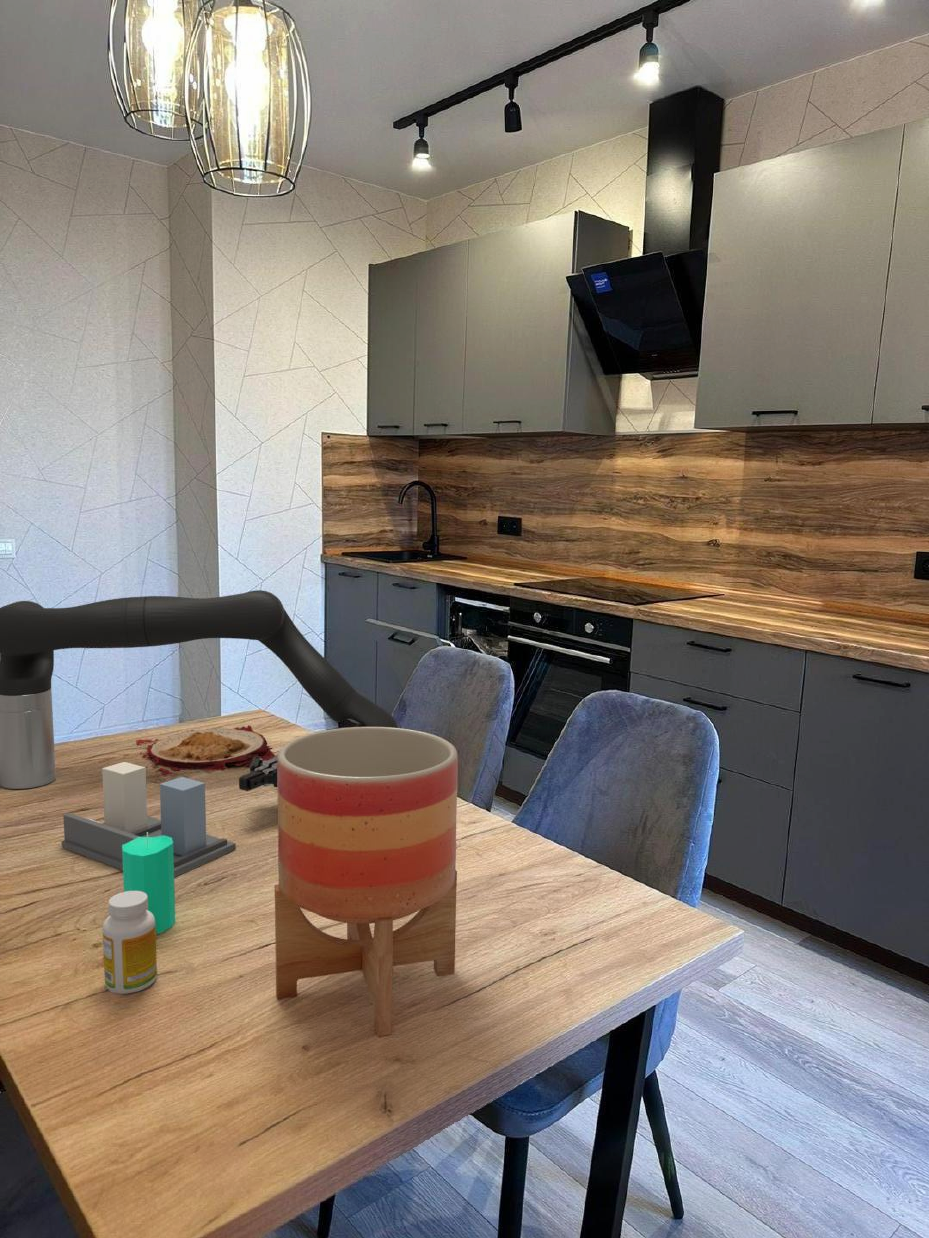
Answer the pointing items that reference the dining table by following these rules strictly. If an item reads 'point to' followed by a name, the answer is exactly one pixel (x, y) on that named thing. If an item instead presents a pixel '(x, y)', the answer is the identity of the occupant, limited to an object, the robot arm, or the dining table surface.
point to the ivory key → (125, 797)
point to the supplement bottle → (129, 943)
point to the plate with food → (207, 749)
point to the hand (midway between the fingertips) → (242, 784)
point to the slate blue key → (183, 814)
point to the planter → (366, 856)
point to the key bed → (108, 841)
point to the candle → (152, 876)
